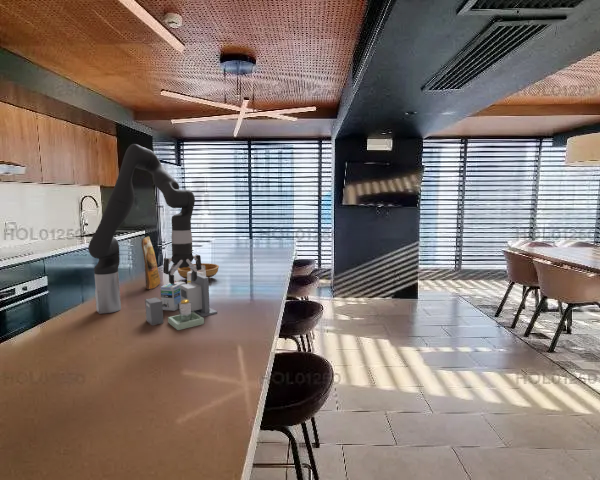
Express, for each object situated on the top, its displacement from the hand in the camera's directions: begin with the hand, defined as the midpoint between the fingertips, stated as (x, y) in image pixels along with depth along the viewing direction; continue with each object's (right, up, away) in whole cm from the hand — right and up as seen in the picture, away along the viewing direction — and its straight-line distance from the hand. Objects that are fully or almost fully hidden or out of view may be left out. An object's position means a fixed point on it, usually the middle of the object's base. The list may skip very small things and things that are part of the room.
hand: (183, 282), depth 139 cm
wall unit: (0, -15, +17) cm, 22 cm away
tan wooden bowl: (-15, -8, +75) cm, 76 cm away
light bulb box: (-12, -14, +23) cm, 30 cm away
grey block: (-13, -16, +4) cm, 21 cm away
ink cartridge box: (-8, -11, +45) cm, 47 cm away
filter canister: (0, -16, +2) cm, 16 cm away
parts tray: (0, -17, +2) cm, 17 cm away
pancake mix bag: (-38, -10, +61) cm, 73 cm away
